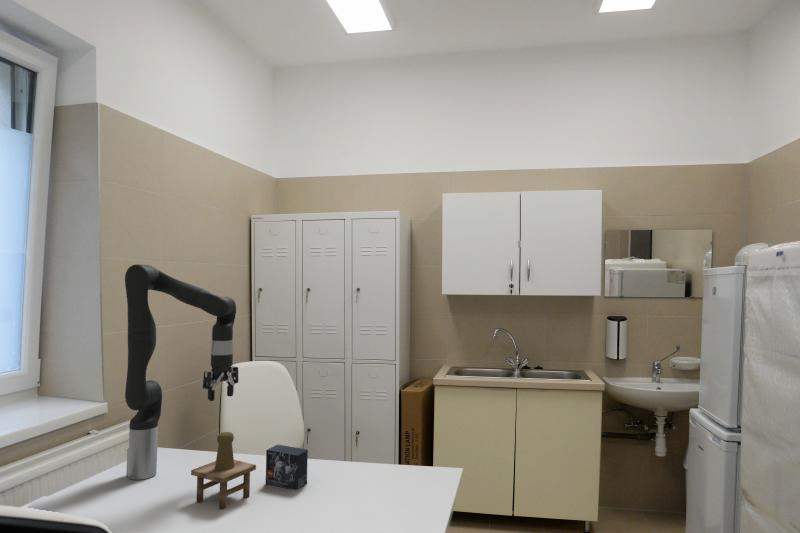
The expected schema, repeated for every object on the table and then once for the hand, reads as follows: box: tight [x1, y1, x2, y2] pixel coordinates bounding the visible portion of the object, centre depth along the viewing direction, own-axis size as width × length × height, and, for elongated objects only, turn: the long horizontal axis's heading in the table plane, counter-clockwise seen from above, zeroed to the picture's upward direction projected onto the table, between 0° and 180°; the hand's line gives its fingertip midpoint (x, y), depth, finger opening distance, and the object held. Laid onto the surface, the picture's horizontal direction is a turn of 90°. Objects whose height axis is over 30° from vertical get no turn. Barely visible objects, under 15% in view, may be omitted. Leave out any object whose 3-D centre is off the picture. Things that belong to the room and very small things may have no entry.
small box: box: [265, 444, 309, 491], centre depth 183 cm, size 13×7×12 cm, turn 68°
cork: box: [215, 431, 235, 470], centre depth 170 cm, size 6×6×11 cm
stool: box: [190, 459, 257, 510], centre depth 170 cm, size 14×14×10 cm
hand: (220, 398), depth 188 cm, fingers open, 8 cm apart
